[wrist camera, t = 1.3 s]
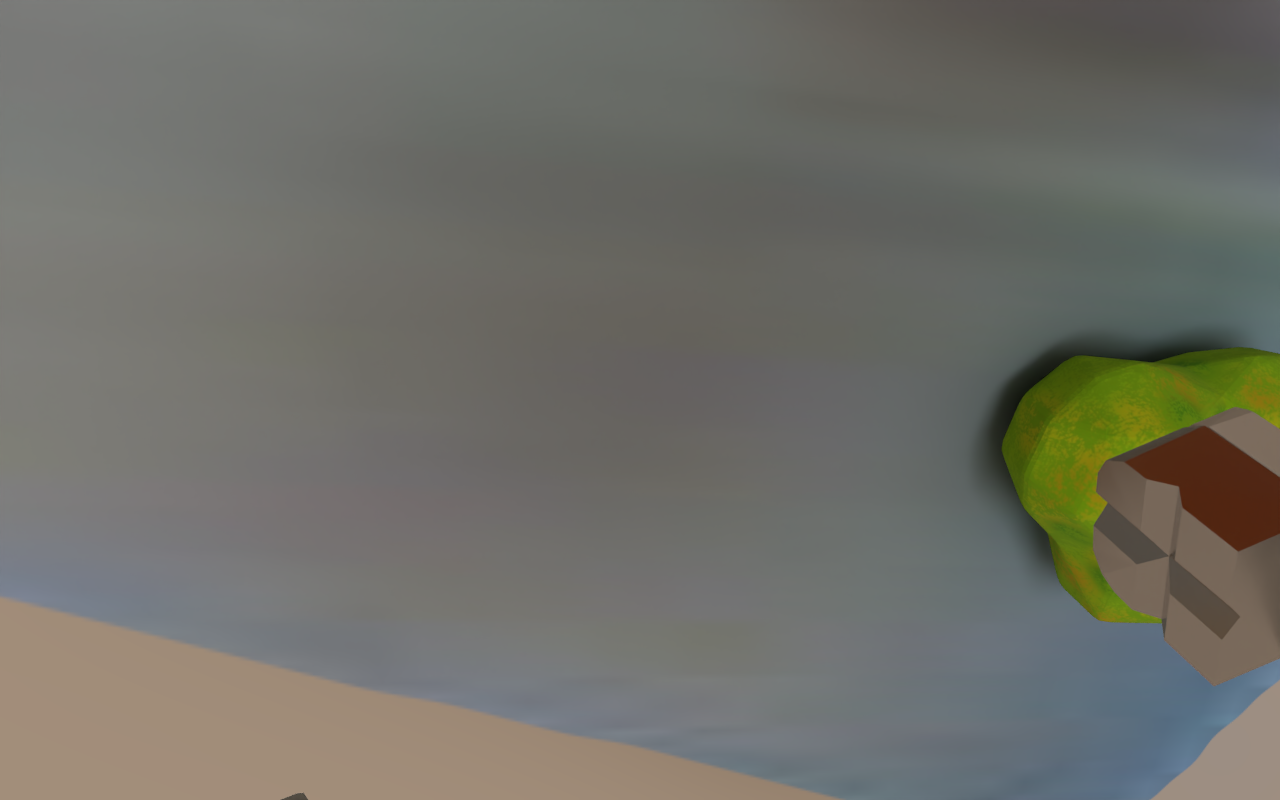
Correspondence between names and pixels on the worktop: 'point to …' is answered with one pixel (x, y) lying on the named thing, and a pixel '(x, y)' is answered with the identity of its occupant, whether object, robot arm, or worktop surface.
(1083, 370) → the green fruit
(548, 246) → the worktop surface
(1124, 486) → the robot arm
